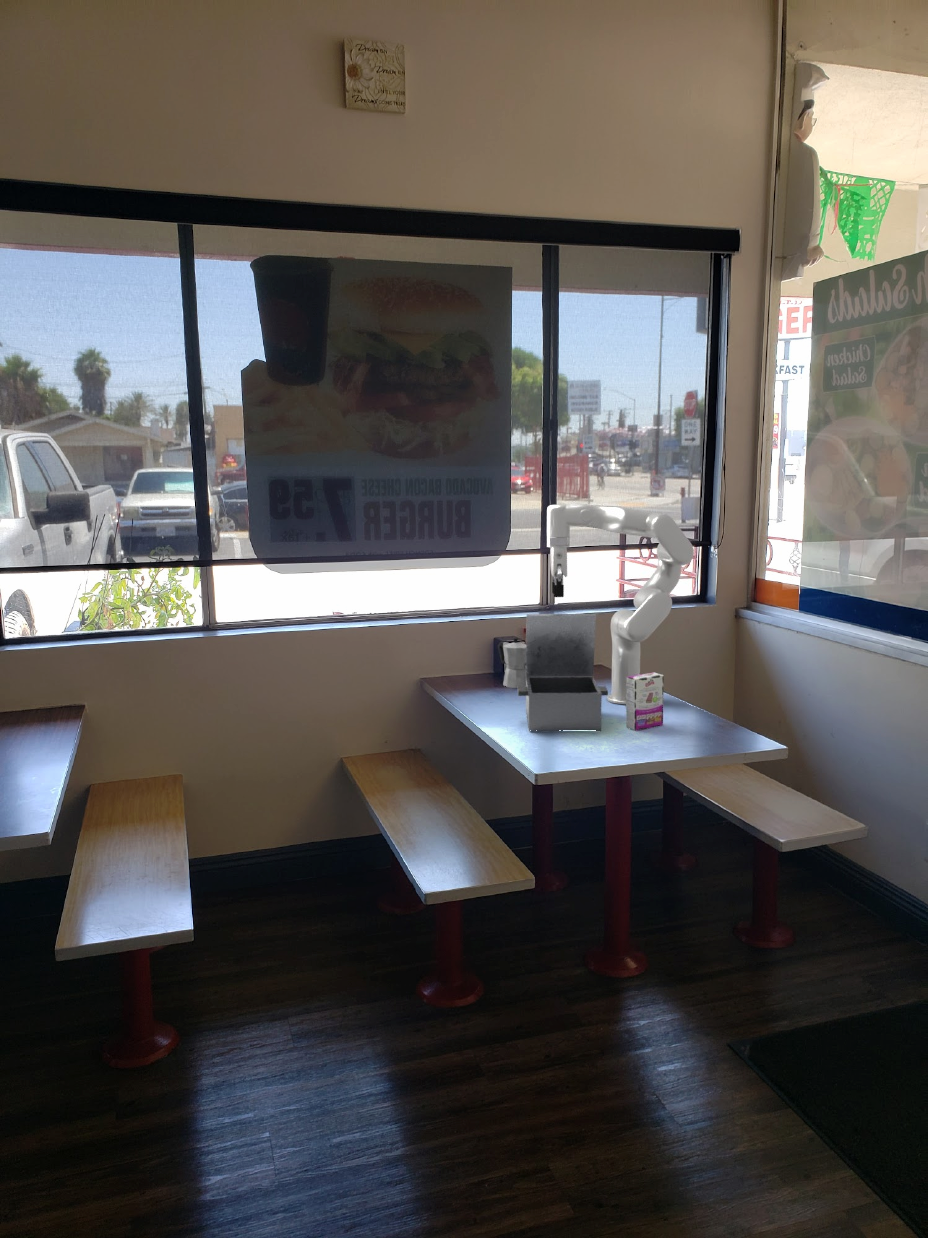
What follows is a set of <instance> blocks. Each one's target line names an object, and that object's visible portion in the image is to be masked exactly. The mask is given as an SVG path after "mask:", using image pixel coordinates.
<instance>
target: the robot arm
mask: <svg viewBox="0 0 928 1238" xmlns="http://www.w3.org/2000/svg"><path fill="white" fill-rule="evenodd" d="M573 526H574V527H581V528H583V527H585V528H593V529H598V530H603V531H607V532H610V533H616V534H621V535H630V536H636V537H637V536H638V537H646V538H653V539H657V541H658V545H657V548H656V555H657V567H656V570H655V571H654V573H653V574H652V575H651V576H650V578H648V580H646V582H645V583H644V584H643V585H642V586H641V588H640V589H639V590H638V591H637V592H636V594H635V595H634V596H633V606H634V607H635V608H636V610H635V611H634V610H631V609H628V608H627V609H626V608H625V609H619V610H617V611H616V612H615V613H614V614H613V615H612V616H611V618H610V619H611V620H610V635H611V643H612V644H611V645H612V646H611V649H612V650H611V693H608V695H606V700H607V701H608V702H609V703H612V704H620V705H626V677H628V676H634V675H641V642H644V641H645V640H647V639H648V638H649V637H650V636H651V635H652V634H653V633H654V632H655V630H656V629H657V628H658V627H660V625H661V624H662V622H663V621H665V619H666V618H667V617H668V615H669V614H670V613H671V610H672V608H673V607H672V606H673V600H672V597H671V595H670V594H671V593H672V591H673V590H674V589H675V588H676V586H677V585H678V583H679V581H680V578H681V576H682V575H681V574H682V566H686V565H688V564H690V562H692V560H693V559H694V555H695V549H694V547H693V544H692V543H691V541H690V539H688V537H687V536H686V535H685V533H684V532H683V530H682V529H681V528H680V526H679V525H678V523H677V522H676V521H675V520H674V519H673V518H672V517H671V515H668V514H667V513H662V512H661V513H660V512H653V511H646V510H639V509H632V508H625V507H617V506H616V507H615V506H611V507H610V506H601V505H600V506H599V505H598V506H597V505H590V504H586V503H580V502H573V503H570V504H568V505H567V504H550V505H548V506H547V509H546V548H549V549H550V552H549V554H550V556H549V557H550V558H549V559H550V564H549V565H550V573H551V576H552V582H551V585H552V586H551V593H552V594H553V597H554V598H564V596H565V593H564V592H565V587H564V586H565V585H564V577H565V578H567V577H568V551H567V548H570V546H571V545H570V543H571V538H570V537H571V533H570V532H571V530H570V529H571V527H573Z"/></svg>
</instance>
